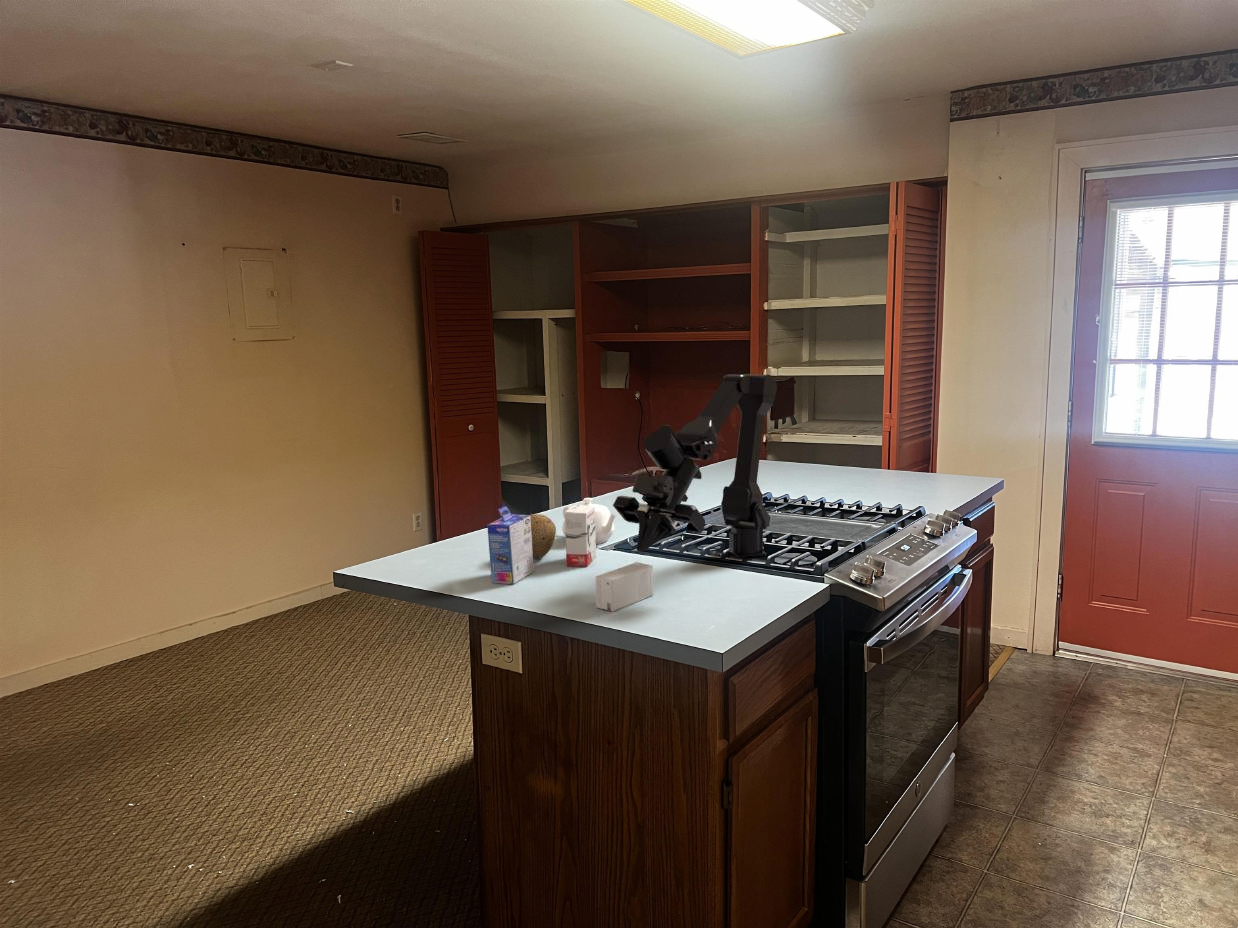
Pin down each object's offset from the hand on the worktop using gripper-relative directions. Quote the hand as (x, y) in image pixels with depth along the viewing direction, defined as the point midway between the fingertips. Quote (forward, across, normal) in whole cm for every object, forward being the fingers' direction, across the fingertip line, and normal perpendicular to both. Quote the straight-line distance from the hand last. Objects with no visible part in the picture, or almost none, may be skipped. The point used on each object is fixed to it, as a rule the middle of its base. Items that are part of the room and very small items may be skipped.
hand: (639, 550), depth 163 cm
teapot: (-12, -37, +25) cm, 46 cm away
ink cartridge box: (+10, -29, +2) cm, 31 cm away
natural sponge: (+1, -36, +11) cm, 37 cm away
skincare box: (+3, 0, +5) cm, 6 cm away
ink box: (-2, -26, +14) cm, 29 cm away
